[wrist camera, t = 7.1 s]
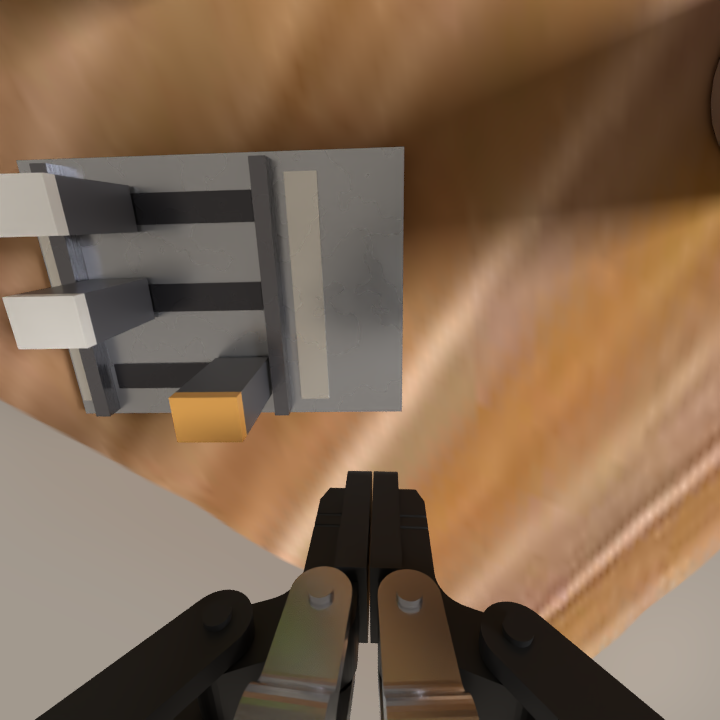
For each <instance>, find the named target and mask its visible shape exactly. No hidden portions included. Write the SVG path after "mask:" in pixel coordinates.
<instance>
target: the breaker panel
mask: <svg viewBox="0 0 720 720" xmlns="http://www.w3.org/2000/svg"><path fill="white" fill-rule="evenodd" d="M16 161H17V165H18V168H19V172H20V173H48V174H55V175H62V176H68V177H75V178H82V179H89V180H96V181H102V182H109V183H116V184H123V185H129V190H130V195H131V200H132V205H133V210H134V215H135V221H136V226H137V231H138V232H134V233H111V234H88V235H66V236H37V237H38V240H39V244H40V248H41V251H42V255H43V259H44V262H45V266H46V269H47V273H48V277H49V280H50V284H51V287H56V286H61V285H66V284H70V283H75V282H80V281H85V280H90V279H123V278H147V281H148V286H149V291H150V296H151V301H152V307H153V312H154V317H155V319H153V320H151V321H149V322H146V323H144V324H142V325H139V326H137V327H135V328H133V329H130V330H128V331H126V332H124V333H121V334H119V335H117V336H114V337H112V338H110V339H108V340H105V341H103V342H101V343H98V344H96V345H94V346H92V347H89V348H74V349H69V352H70V356H71V360H72V363H73V367H74V371H75V374H76V378H77V381H78V385H79V389H80V392H81V396H82V399H83V403H84V407H85V410H86V413H96V416H111V415H113V414H114V413H171V408H170V403H169V397H170V396H171V395H173V394H174V393H175V392H176V391H177V390H178V389H180V388H181V387H182V386H183V385H184V384H186V383H187V382H188V381H189V380H190V379H191V378H193V377H194V376H195V375H196V374H197V373H198V372H200V371H201V370H202V369H203V368H204V367H206V366H207V365H208V364H209V363H210V362H211V361H213V360H214V359H215V358H246V357H269V367H270V376H271V386H272V395H271V396H270V398H269V400H268V401H267V403H266V405H265V406H264V408H263V410H262V411H261V412H275V415H289V414H290V412H370V411H402V327H403V219H404V147H383V148H355V149H326V150H298V151H270V152H242V153H213V154H185V155H157V156H128V157H100V158H72V159H44V160H16Z"/></svg>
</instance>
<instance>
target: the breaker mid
mask: <svg viewBox="0 0 720 720" xmlns="http://www.w3.org/2000/svg"><path fill="white" fill-rule="evenodd" d="M2 299H3V302H4V305H5V308H6V311H7V315H8V318H9V321H10V324H11V327H12V330H13V333H14V336H15V340H16V343H17V346H18V349H74V348H89V347H92V346H94V345H96V344H98V343H101V342H103V341H105V340H108V339H110V338H112V337H114V336H117V335H119V334H121V333H124V332H126V331H128V330H130V329H133V328H135V327H137V326H139V325H142V324H144V323H146V322H149V321H151V320H153V319H155V317H154V312H153V307H152V301H151V296H150V291H149V286H148V281H147V278H123V279H90V280H85V281H80V282H75V283H70V284H66V285H61V286H56V287H51V288H46V289H41V290H36V291H31V292H26V293H21V294H16V295H11V296H6V297H2Z"/></svg>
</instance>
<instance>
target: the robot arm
mask: <svg viewBox="0 0 720 720" xmlns="http://www.w3.org/2000/svg"><path fill="white" fill-rule="evenodd" d="M711 114H712V125H713V128H714V131H715V135H716V138H717V141H718V144H719V145H720V60H719V63H718V66H717V70H716V73H715V76H714V80H713V88H712V96H711ZM369 601H370V635H371V643H378V689H379V706H380V707H379V708H380V720H664V718H662V717H661V716H660V715H659V714H658V713H656V712H655V711H654V710H653V709H652V708H650V707H649V706H648V705H647V704H645V703H644V702H643V701H642V700H641V699H639V698H638V697H637V696H636V695H635V694H633V693H632V692H631V691H630V690H629V689H627V688H626V687H625V686H624V685H623V684H621V683H620V682H619V681H618V680H617V679H615V678H614V677H613V676H612V675H610V674H609V673H608V672H607V671H606V670H604V669H603V668H602V667H601V666H600V665H598V664H597V663H596V662H595V661H594V660H592V659H591V658H590V657H589V656H588V655H586V654H585V653H584V652H583V651H582V650H580V649H579V648H578V647H577V646H575V645H574V644H573V643H572V642H571V641H569V640H568V639H567V638H566V637H565V636H563V635H562V634H561V633H560V632H559V631H557V630H556V629H555V628H554V627H553V626H551V625H550V624H549V623H548V622H547V621H545V620H544V619H543V618H542V617H540V616H539V615H538V614H537V613H535V612H534V611H533V610H531V609H529V608H528V607H526V606H523V605H521V604H518V603H514V602H498V603H495V604H492V605H491V606H489V607H488V608H487V609H486V610H485V612H481V611H478V610H475V609H472V608H469V607H466V606H464V605H461V604H459V603H457V602H456V601H454V600H452V599H451V598H450V597H448V596H447V595H446V594H445V593H444V592H443V590H442V589H441V588H440V586H439V585H438V583H437V581H436V578H435V574H434V567H433V560H432V553H431V546H430V539H429V531H428V524H427V518H426V510H425V503H424V500H423V499H422V498H421V496H420V495H419V494H418V492H417V491H416V490H409V489H398V472H378V471H374V478H373V501H372V471H348V474H347V481H346V488H330V489H329V490H328V491H327V492H326V493H325V495H324V496H323V497H322V498H321V499H320V504H319V508H318V512H317V517H316V521H315V527H314V530H313V534H312V538H311V543H310V547H309V551H308V556H307V560H306V564H305V569H304V572H303V573H302V574H301V575H300V576H299V577H298V578H297V579H296V580H295V582H294V583H293V585H292V587H291V589H290V590H289V591H288V592H286V593H285V594H283V595H281V596H278V597H276V598H273V599H269V600H266V601H262V602H258V603H255V604H251V603H250V600H249V599H248V598H247V597H246V596H245V595H244V594H243V593H241V592H239V591H235V590H222V591H217V592H214V593H212V594H210V595H208V596H206V597H204V598H203V599H201V600H200V601H198V602H197V603H195V604H194V605H193V606H191V607H190V608H189V609H187V610H186V611H184V612H183V613H182V614H180V615H179V616H178V617H176V618H175V619H174V620H172V621H171V622H169V623H168V624H166V625H165V626H164V627H162V628H161V629H160V630H158V631H157V632H155V633H154V634H153V635H151V636H150V637H149V638H147V639H146V640H144V641H143V642H142V643H140V644H139V645H138V646H136V647H135V648H133V649H132V650H131V651H129V652H128V653H126V654H125V655H124V656H122V657H121V658H120V659H118V660H117V661H115V662H114V663H113V664H111V665H110V666H109V667H107V668H106V669H104V670H103V671H102V672H100V673H99V674H97V675H96V676H95V677H93V678H92V679H91V680H89V681H88V682H86V683H85V684H84V685H82V686H81V687H80V688H78V689H77V690H76V691H74V692H73V693H71V694H70V695H69V696H67V697H66V698H64V699H63V700H62V701H60V702H59V703H57V704H56V705H55V706H53V707H52V708H51V709H49V710H48V711H46V712H45V713H44V714H42V715H41V716H39V717H38V718H37V719H35V720H350V712H351V706H352V698H353V691H354V684H355V671H356V669H357V661H358V645H359V643H368V624H369Z"/></svg>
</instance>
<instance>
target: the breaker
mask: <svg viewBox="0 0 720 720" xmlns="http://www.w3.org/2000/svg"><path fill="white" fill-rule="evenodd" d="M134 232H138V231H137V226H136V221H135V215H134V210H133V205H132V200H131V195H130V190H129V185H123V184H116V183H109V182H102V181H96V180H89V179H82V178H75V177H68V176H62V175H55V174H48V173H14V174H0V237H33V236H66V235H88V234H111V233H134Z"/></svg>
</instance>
